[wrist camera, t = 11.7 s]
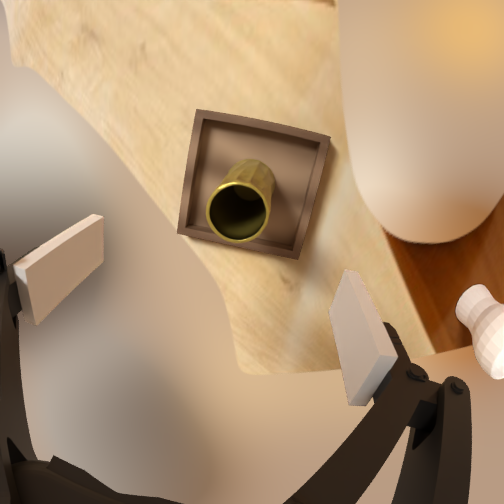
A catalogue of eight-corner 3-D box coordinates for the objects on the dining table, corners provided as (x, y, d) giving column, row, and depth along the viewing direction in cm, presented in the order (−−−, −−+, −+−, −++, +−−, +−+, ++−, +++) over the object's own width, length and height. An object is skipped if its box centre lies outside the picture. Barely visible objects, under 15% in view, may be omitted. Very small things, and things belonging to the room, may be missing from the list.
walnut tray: (201, 110, 35) (196, 109, 33) (327, 136, 35) (330, 136, 33) (182, 227, 41) (176, 233, 39) (296, 252, 41) (298, 259, 39)
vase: (280, 165, 36) (284, 187, 23) (267, 211, 39) (263, 256, 26) (232, 153, 36) (208, 168, 23) (221, 199, 39) (193, 238, 26)
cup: (453, 282, 41) (500, 336, 28) (498, 272, 40) (546, 317, 26) (444, 332, 45) (478, 390, 32) (486, 321, 44) (524, 370, 30)
